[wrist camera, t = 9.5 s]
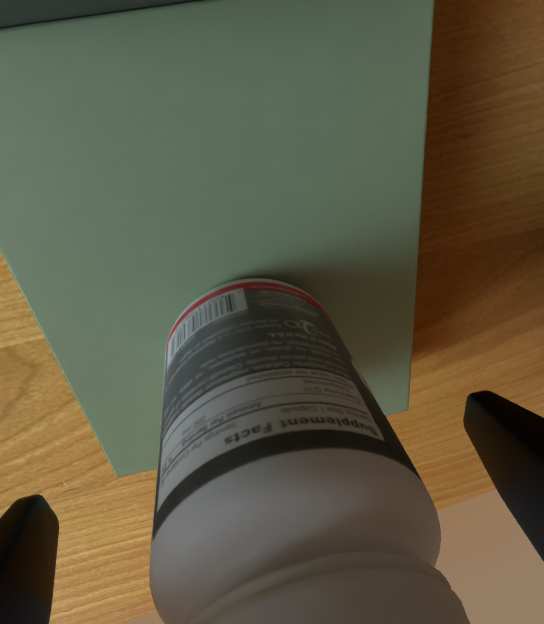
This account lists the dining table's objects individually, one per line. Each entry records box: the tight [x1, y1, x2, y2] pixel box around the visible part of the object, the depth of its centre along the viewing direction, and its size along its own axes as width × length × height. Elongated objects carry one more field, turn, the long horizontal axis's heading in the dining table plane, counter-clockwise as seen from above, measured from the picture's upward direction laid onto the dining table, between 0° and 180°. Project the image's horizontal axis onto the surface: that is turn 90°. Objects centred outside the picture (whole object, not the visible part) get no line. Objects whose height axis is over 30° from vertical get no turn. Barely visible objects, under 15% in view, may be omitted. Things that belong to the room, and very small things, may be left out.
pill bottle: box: [150, 278, 470, 624], centre depth 8 cm, size 5×5×8 cm
